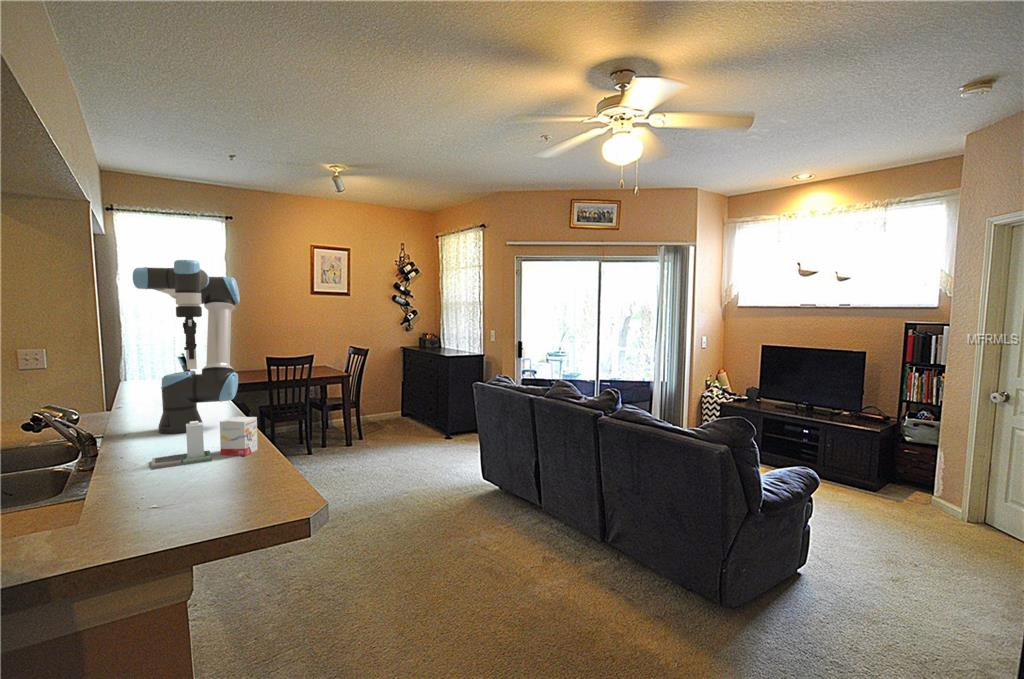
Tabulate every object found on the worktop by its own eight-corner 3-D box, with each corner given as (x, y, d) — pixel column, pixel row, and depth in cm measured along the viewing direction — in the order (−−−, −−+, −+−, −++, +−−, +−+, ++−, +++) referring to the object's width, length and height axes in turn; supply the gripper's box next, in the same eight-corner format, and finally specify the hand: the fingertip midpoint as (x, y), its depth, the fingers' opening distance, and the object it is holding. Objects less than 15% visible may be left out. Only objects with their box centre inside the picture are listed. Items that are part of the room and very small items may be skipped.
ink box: (245, 456, 170) (244, 421, 169) (219, 456, 170) (218, 421, 169) (258, 449, 178) (257, 415, 178) (234, 449, 179) (233, 415, 178)
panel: (152, 460, 166) (152, 456, 165) (209, 452, 174) (209, 448, 174) (150, 471, 155) (150, 466, 155) (212, 462, 163) (211, 457, 163)
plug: (187, 457, 167) (185, 421, 166) (203, 455, 170) (202, 419, 169) (187, 460, 163) (186, 424, 163) (204, 458, 166) (202, 422, 165)
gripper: (175, 305, 184) (178, 364, 186) (175, 305, 164) (178, 371, 165) (200, 305, 189) (202, 363, 190) (203, 305, 168) (205, 369, 169)
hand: (191, 367), depth 177 cm, fingers open, 13 cm apart
